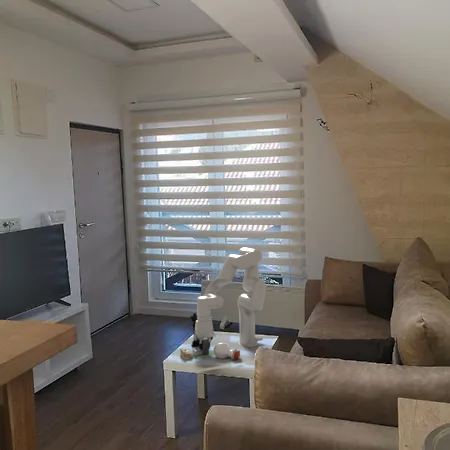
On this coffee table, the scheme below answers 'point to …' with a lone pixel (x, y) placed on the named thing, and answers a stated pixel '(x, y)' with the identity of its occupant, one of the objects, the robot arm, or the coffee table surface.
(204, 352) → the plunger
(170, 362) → the coffee table surface
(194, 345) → the chess piece
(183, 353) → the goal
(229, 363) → the coffee table surface
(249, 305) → the robot arm
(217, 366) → the coffee table surface
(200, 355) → the felt board
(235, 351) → the potion bottle
